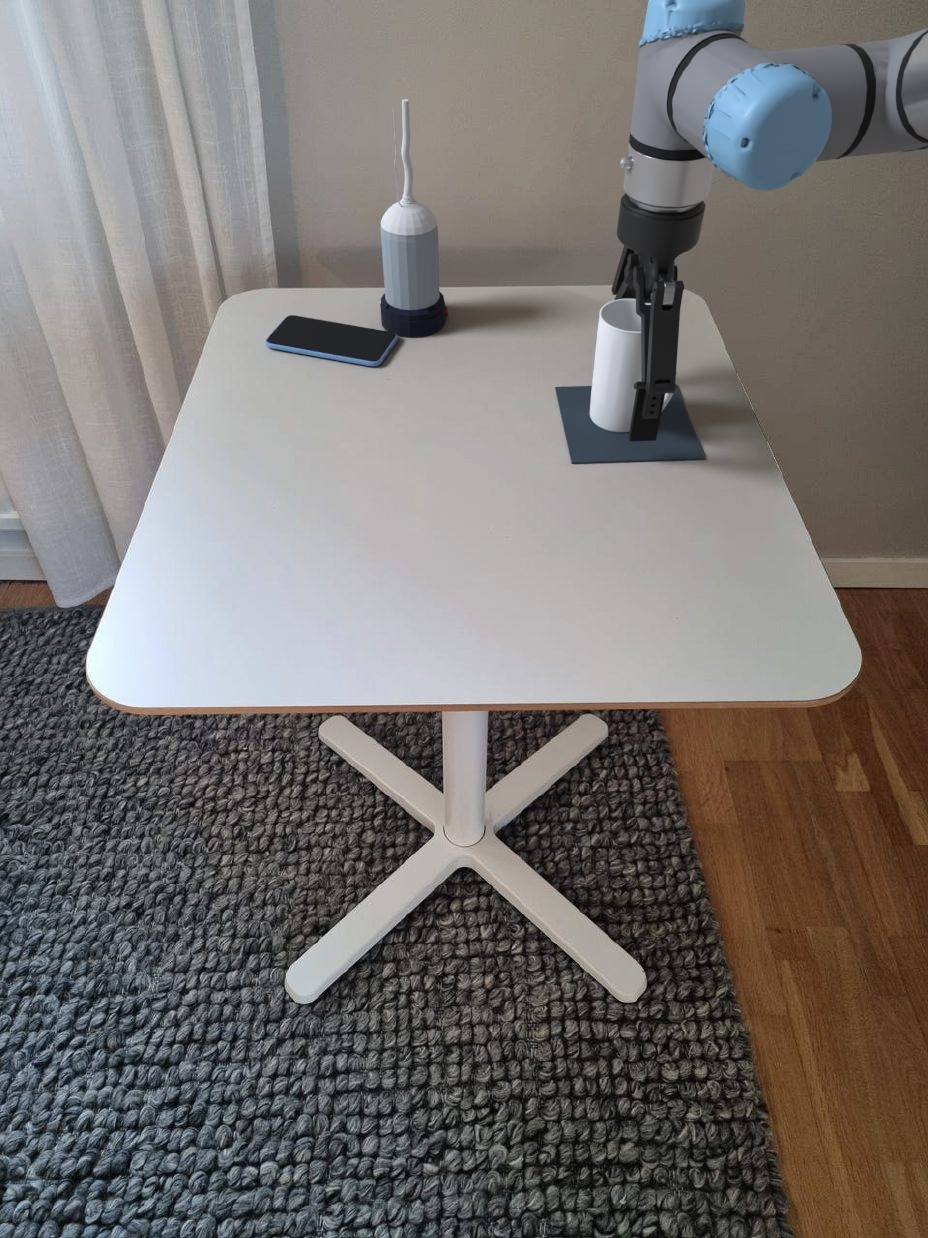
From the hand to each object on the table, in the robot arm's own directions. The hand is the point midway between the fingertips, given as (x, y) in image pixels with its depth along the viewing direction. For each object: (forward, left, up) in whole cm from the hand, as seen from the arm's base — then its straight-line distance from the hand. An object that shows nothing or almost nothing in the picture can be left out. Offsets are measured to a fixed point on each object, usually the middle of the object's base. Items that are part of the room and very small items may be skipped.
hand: (630, 401), depth 93 cm
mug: (0, 0, -3) cm, 3 cm away
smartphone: (+18, +33, -3) cm, 38 cm away
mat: (0, 0, -3) cm, 3 cm away
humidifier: (+23, +23, -3) cm, 33 cm away
